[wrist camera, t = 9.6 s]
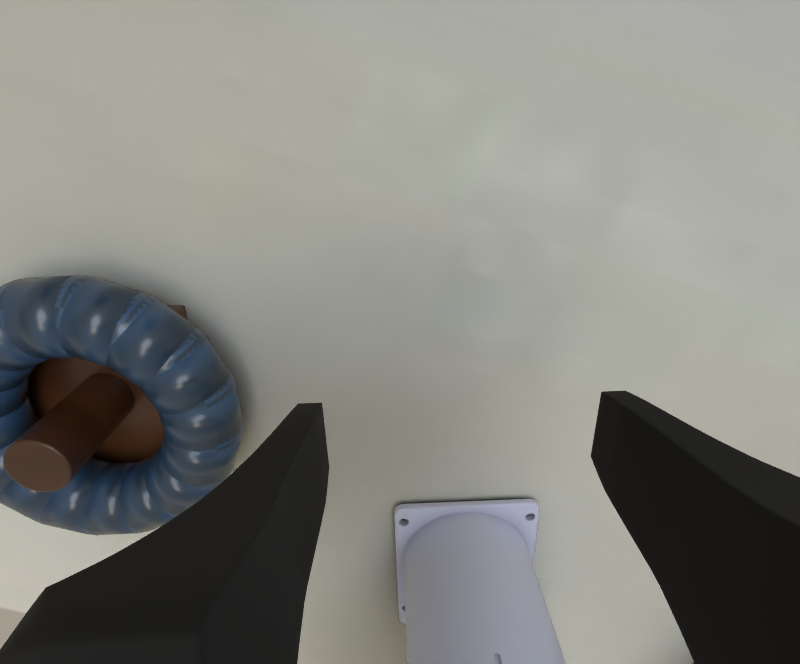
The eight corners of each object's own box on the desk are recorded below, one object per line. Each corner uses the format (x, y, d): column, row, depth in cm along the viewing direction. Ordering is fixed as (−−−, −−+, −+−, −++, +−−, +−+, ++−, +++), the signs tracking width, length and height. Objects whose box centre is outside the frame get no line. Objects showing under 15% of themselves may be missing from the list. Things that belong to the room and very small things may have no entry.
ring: (268, 492, 25) (252, 542, 22) (27, 505, 25) (-21, 556, 22) (222, 259, 20) (193, 284, 17) (-82, 273, 20) (-163, 301, 17)
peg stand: (217, 449, 25) (169, 543, 19) (61, 455, 25) (-31, 551, 19) (184, 304, 22) (116, 368, 16) (4, 310, 21) (-126, 377, 16)
